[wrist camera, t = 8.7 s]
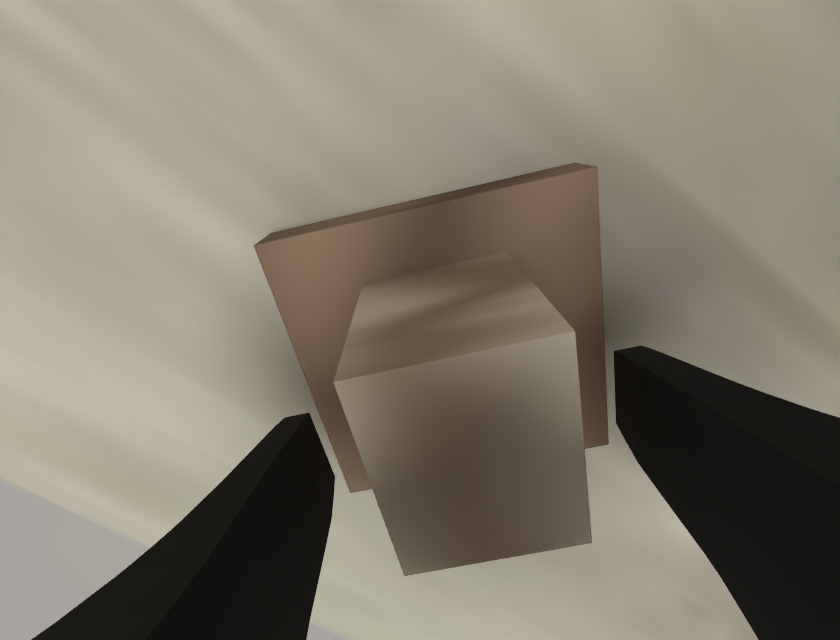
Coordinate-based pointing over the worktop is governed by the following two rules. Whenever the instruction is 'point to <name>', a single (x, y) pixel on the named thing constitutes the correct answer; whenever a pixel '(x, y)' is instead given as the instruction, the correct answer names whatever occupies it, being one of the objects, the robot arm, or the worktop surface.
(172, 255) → the worktop surface
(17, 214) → the worktop surface
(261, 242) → the walnut board
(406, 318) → the birch block
